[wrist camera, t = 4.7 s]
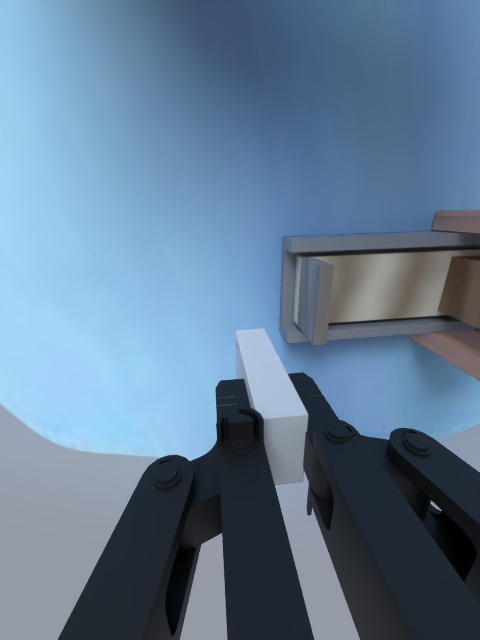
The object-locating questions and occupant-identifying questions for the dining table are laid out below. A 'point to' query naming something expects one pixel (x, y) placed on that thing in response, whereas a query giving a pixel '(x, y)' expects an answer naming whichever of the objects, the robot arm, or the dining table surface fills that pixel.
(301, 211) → the dining table surface
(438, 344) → the tunnel
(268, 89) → the dining table surface
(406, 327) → the rail
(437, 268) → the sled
